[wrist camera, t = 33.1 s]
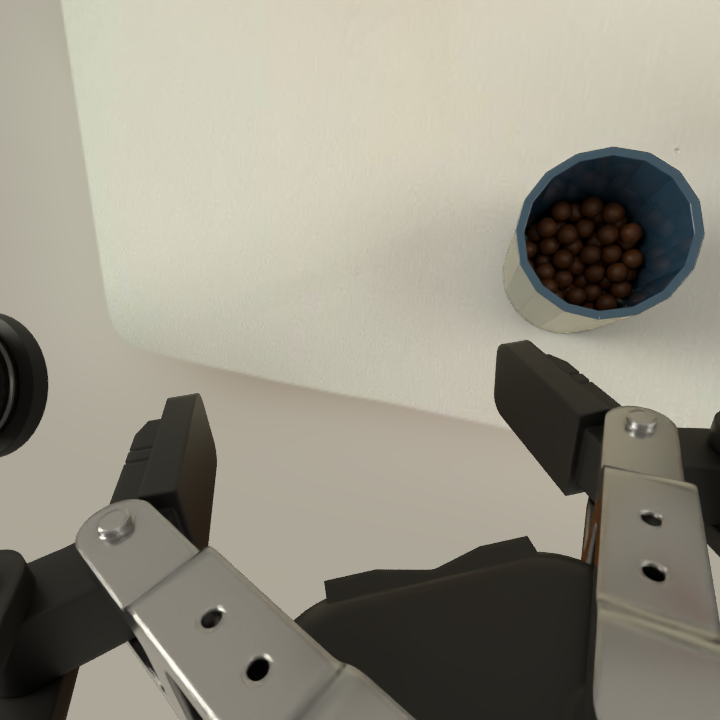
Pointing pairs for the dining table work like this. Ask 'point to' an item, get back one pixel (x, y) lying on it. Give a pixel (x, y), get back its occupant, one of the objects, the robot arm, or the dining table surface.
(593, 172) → the cup
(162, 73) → the dining table surface
